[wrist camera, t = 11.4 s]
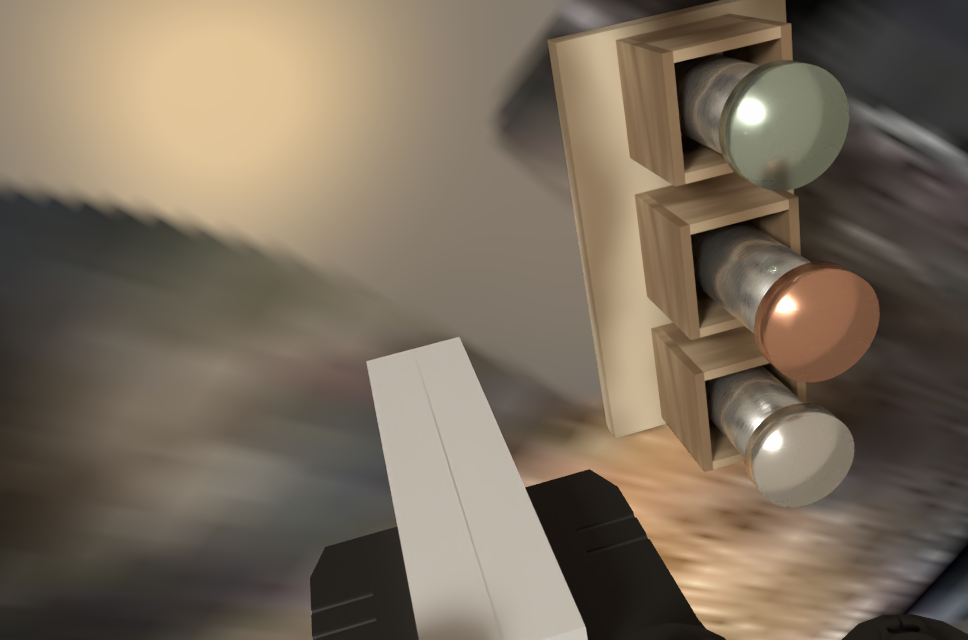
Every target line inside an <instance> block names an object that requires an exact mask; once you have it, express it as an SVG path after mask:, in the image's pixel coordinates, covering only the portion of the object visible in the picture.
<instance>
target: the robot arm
mask: <svg viewBox="0 0 968 640" xmlns="http://www.w3.org/2000/svg"><path fill="white" fill-rule="evenodd" d="M366 362H367V367H368V372H369V377H370V383H371V388H372V393H373V399H374V404H375V409H376V415H377V420H378V425H379V430H380V436H381V441H382V446H383V452H384V457H385V462H386V468H387V473H388V478H389V483H390V489H391V494H392V499H393V505H394V510H395V515H396V521H397V526H398V527H394V528H391V529H387V530H384V531H380V532H377V533H373V534H370V535H366V536H363V537H359V538H356V539H352V540H348V541H345V542H341V543H338V544H334V545H331V546H327V547H325V549H324V551H323V553H322V555H321V557H320V559H319V561H318V563H317V565H316V567H315V569H314V571H313V573H312V575H311V577H310V589H311V610H312V615H311V616H312V636H313V640H726V639H725V638H724V637H722V636H719V635H717V634H715V633H713V632H711V631H709V630H707V629H706V628H705V627H704V626H703V624H702V623H701V622H700V621H699V620H698V618H697V617H696V615H695V613H694V612H693V610H692V608H691V607H690V605H689V603H688V602H687V600H686V598H685V597H684V595H683V594H682V592H681V590H680V589H679V587H678V585H677V584H676V582H675V580H674V579H673V577H672V575H671V574H670V572H669V570H668V569H667V567H666V565H665V564H664V562H663V561H662V559H661V557H660V556H659V554H658V552H657V551H656V549H655V547H654V546H653V544H652V542H651V541H650V539H648V538H647V535H646V533H645V531H644V529H643V528H642V526H641V524H640V523H639V521H638V519H637V518H635V517H634V513H633V511H632V509H631V508H630V506H629V504H628V503H627V501H626V500H625V498H624V496H623V495H622V493H621V491H620V490H619V488H618V487H617V486H615V485H614V484H612V483H611V482H609V481H607V480H606V479H604V478H603V477H601V476H599V475H598V474H596V473H595V472H593V471H591V470H590V469H589V470H585V471H582V472H578V473H575V474H571V475H568V476H564V477H561V478H557V479H554V480H550V481H547V482H543V483H540V484H536V485H533V486H529V487H526V488H525V487H524V484H523V482H522V480H521V477H520V475H519V473H518V471H517V468H516V466H515V464H514V461H513V459H512V457H511V454H510V452H509V450H508V448H507V445H506V443H505V441H504V438H503V436H502V434H501V432H500V429H499V427H498V425H497V422H496V420H495V418H494V415H493V413H492V411H491V409H490V406H489V404H488V402H487V399H486V397H485V395H484V392H483V390H482V388H481V386H480V383H479V381H478V379H477V376H476V374H475V372H474V370H473V367H472V365H471V363H470V360H469V358H468V356H467V353H466V351H465V349H464V347H463V344H462V342H461V340H460V337H457V338H454V339H450V340H446V341H442V342H438V343H435V344H431V345H427V346H423V347H419V348H416V349H412V350H408V351H404V352H400V353H396V354H393V355H389V356H385V357H381V358H377V359H374V360H370V361H366ZM842 640H968V634H966V633H964V632H962V631H961V630H959V629H957V628H955V627H953V626H951V625H949V624H947V623H945V622H943V621H939V620H935V619H930V618H926V617H921V616H917V615H913V614H907V615H882V616H879V617H876V618H874V619H871V620H868V621H865V622H862V623H860V624H858V625H857V626H856V627H855V628H854V629H852V630H851V631H850V632H849V633H848V634H847V635H846V636H845V637H844V638H843V639H842Z"/></svg>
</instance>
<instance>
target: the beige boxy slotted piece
mask: <svg viewBox="0 0 968 640" xmlns="http://www.w3.org/2000/svg"><path fill="white" fill-rule="evenodd" d="M548 47H549V53H550V60H551V66H552V73H553V79H554V86H555V92H556V99H557V105H558V112H559V118H560V125H561V131H562V138H563V144H564V151H565V157H566V164H567V170H568V177H569V183H570V189H571V196H572V202H573V209H574V215H575V222H576V228H577V235H578V241H579V248H580V254H581V260H582V267H583V274H584V280H585V287H586V293H587V299H588V306H589V313H590V319H591V326H592V332H593V339H594V345H595V352H596V358H597V365H598V371H599V377H600V384H601V391H602V397H603V404H604V410H605V417H606V423H607V427H608V428H609V430H610V431H611V433H612V434H613V436H614V437H615V438H618V437H621V436H625V435H628V434H632V433H636V432H639V431H643V430H646V429H650V428H653V427H657V426H660V425H664V424H667V425H668V426H669V428H670V429H671V430H672V431H673V433H674V434H675V435H676V436H677V438H678V439H679V440H680V442H681V443H682V444H683V445H684V447H685V448H686V449H687V450H688V452H689V453H690V454H691V456H692V457H693V458H694V459H695V461H696V462H697V463H698V464H699V466H700V467H701V468H702V470H703V471H704V472H707V471H710V470H714V469H717V468H720V467H724V466H727V465H731V464H734V463H738V462H741V461H744V457H743V455H742V454H741V453H740V452H739V451H738V450H737V449H736V448H735V446H734V445H733V444H732V443H731V442H730V441H729V440H728V439H727V437H726V436H725V435H724V434H723V433H722V432H721V431H720V430H719V428H718V427H717V426H716V425H715V424H714V423H713V422H712V420H711V419H710V418H709V417H708V410H707V400H706V389H705V381H707V380H710V379H714V378H717V377H721V376H725V375H728V374H732V373H735V372H739V371H743V370H746V369H750V368H753V367H757V366H761V365H762V366H763V367H764V368H766V369H767V370H768V371H769V372H770V373H771V374H772V375H773V376H774V377H776V378H777V379H778V380H779V381H780V382H781V383H782V384H783V385H785V386H786V387H787V388H788V389H789V390H790V391H791V392H792V393H794V394H795V395H796V396H797V397H798V398H799V399H800V400H801V401H802V402H804V403H807V396H806V382H799V381H796V380H793V379H791V378H789V377H787V376H785V375H784V374H783V373H781V372H780V371H779V370H778V369H777V368H775V367H774V366H773V365H772V364H771V363H770V362H769V361H767V360H766V358H765V357H764V356H763V355H762V354H761V352H760V351H759V349H758V347H757V344H756V341H755V336H754V333H753V332H751V331H750V330H749V329H748V328H747V327H745V326H744V325H743V324H742V323H741V322H739V321H738V320H737V319H736V318H735V317H734V316H732V315H731V314H730V313H729V312H728V311H726V310H725V309H724V308H723V307H722V306H720V305H719V304H718V303H717V302H716V301H714V300H713V299H712V298H711V297H710V296H709V295H707V294H706V293H705V292H704V291H703V290H701V289H700V288H699V287H698V286H697V285H695V276H694V265H693V255H692V244H691V235H692V234H695V233H699V232H703V231H707V230H711V229H715V228H719V227H723V226H726V225H730V224H734V223H738V222H742V221H745V222H747V223H749V224H750V225H752V226H753V227H755V228H757V229H758V230H760V231H762V232H763V233H765V234H767V235H768V236H770V237H771V238H773V239H775V240H776V241H778V242H780V243H781V244H783V245H785V246H786V247H788V248H789V249H791V250H793V251H794V252H796V253H798V254H799V255H801V250H800V226H799V202H798V197H797V196H795V195H794V189H793V190H787V191H773V190H768V189H764V188H762V187H759V186H757V185H755V184H753V183H751V182H750V181H748V180H746V179H744V178H742V177H741V176H739V175H738V174H736V173H735V172H734V171H733V170H732V169H731V168H730V166H729V165H728V164H727V162H726V160H725V159H724V156H723V154H721V153H719V152H717V151H715V150H713V149H711V148H709V147H707V146H705V145H703V144H701V143H699V142H697V141H694V140H692V139H690V138H688V137H686V136H684V135H682V134H681V131H680V120H679V110H678V100H677V89H676V79H675V69H674V63H676V62H680V61H685V60H689V59H693V58H697V57H702V56H706V55H710V54H718V55H722V56H726V57H730V58H734V59H737V60H741V61H745V62H749V63H753V64H756V65H760V66H762V65H764V64H766V63H770V62H773V61H779V60H792V61H793V56H792V32H791V23H786V2H785V0H719V1H715V2H711V3H706V4H702V5H697V6H693V7H689V8H684V9H680V10H676V11H671V12H667V13H663V14H658V15H654V16H650V17H645V18H641V19H636V20H632V21H628V22H623V23H619V24H615V25H610V26H606V27H602V28H597V29H593V30H589V31H584V32H580V33H575V34H571V35H567V36H562V37H558V38H554V39H549V40H548Z"/></svg>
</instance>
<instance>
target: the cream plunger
mask: <svg viewBox="0 0 968 640" xmlns="http://www.w3.org/2000/svg"><path fill="white" fill-rule="evenodd" d="M705 389H706V400H707V410H708V417H709V418H710V419H711V420H712V422H713V423H714V424H715V425H716V426H717V427H718V428H719V430H720V431H721V432H722V433H723V434H724V435H725V436H726V437H727V439H728V440H729V441H730V442H731V443H732V444H733V445H734V446H735V448H736V449H737V450H738V451H739V452H740V453H741V454H742V455H743V457H744V465H745V470H746V473H747V475H748V477H749V479H750V480H751V481H752V482H753V484H754V485H755V486H756V487H757V488H758V489H759V491H760V492H761V493H762V494H763V495H764V496H765V497H766V498H767V499H768V500H769V501H771V502H772V503H775V504H777V505H780V506H785V507H799V506H804V505H808V504H811V503H814V502H816V501H818V500H820V499H822V498H823V497H825V496H827V495H828V494H829V493H831V492H832V491H833V490H834V489H835V488H836V487H837V486H838V485H839V484H840V483H841V482H842V480H843V479H844V478H845V476H846V474H847V473H848V471H849V469H850V467H851V464H852V461H853V457H854V441H853V437H852V435H851V432H850V431H849V429H848V428H847V427H846V426H845V425H844V424H843V423H842V422H841V421H840V420H839V419H838V418H837V417H835V416H834V415H833V414H832V413H831V412H830V411H828V410H827V409H826V408H824V407H822V406H819V405H816V404H812V403H804V402H802V401H801V400H800V399H799V398H798V397H797V396H796V395H795V394H794V393H792V392H791V391H790V390H789V389H788V388H787V387H786V386H785V385H783V384H782V383H781V382H780V381H779V380H778V379H777V378H776V377H774V376H773V375H772V374H771V373H770V372H769V371H768V370H767V369H766V368H764V367H763V366H762V365H761V366H757V367H753V368H750V369H746V370H743V371H739V372H735V373H732V374H728V375H725V376H721V377H717V378H714V379H710V380H707V381H705Z"/></svg>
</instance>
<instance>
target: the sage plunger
mask: <svg viewBox="0 0 968 640" xmlns="http://www.w3.org/2000/svg"><path fill="white" fill-rule="evenodd" d="M674 69H675V79H676V89H677V100H678V110H679V120H680V131H681V134H682V135H684V136H686V137H688V138H690V139H692V140H694V141H697V142H699V143H701V144H703V145H705V146H707V147H709V148H711V149H713V150H715V151H717V152H719V153H721V154H723V156H724V159H725V160H726V162H727V164H728V165H729V166H730V168H731V169H732V170H733V171H734V172H735V173H736V174H738V175H739V176H741V177H742V178H744V179H746V180H748V181H750V182H751V183H753V184H755V185H757V186H759V187H762V188H764V189H768V190H773V191H787V190H793V189H796V188H799V187H802V186H804V185H806V184H808V183H810V182H812V181H813V180H815V179H816V178H818V177H819V176H820V175H821V174H823V173H824V172H825V171H826V170H827V169H828V168H829V166H830V165H831V164H832V163H833V162H834V160H835V159H836V157H837V156H838V154H839V152H840V150H841V148H842V146H843V144H844V141H845V139H846V135H847V132H848V126H849V106H848V101H847V97H846V94H845V92H844V90H843V88H842V86H841V84H840V83H839V82H838V80H837V79H836V78H835V77H834V76H833V75H832V74H830V73H829V72H828V71H826V70H824V69H822V68H820V67H818V66H814V65H811V64H806V63H802V62H798V61H792V60H779V61H773V62H770V63H766V64H764V65H762V66H760V65H756V64H753V63H749V62H745V61H741V60H737V59H734V58H730V57H726V56H722V55H718V54H710V55H706V56H702V57H697V58H693V59H689V60H685V61H680V62H676V63H674Z"/></svg>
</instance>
